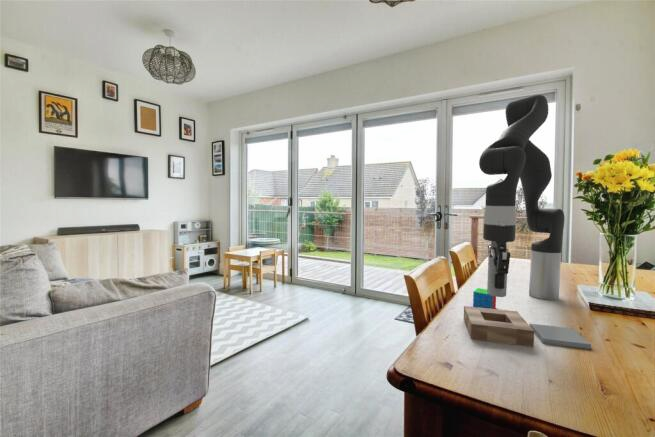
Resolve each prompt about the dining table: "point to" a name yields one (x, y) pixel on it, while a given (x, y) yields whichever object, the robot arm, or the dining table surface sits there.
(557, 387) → the dining table surface
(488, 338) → the socket block
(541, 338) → the coaster
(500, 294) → the grey hollow tube
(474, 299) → the puzzle toy
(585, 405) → the dining table surface
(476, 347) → the dining table surface
